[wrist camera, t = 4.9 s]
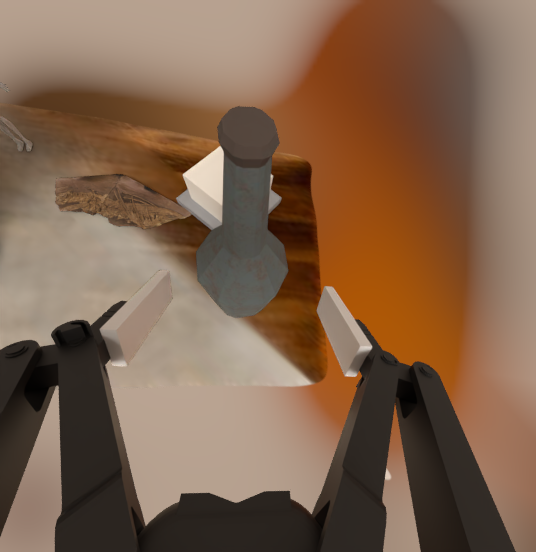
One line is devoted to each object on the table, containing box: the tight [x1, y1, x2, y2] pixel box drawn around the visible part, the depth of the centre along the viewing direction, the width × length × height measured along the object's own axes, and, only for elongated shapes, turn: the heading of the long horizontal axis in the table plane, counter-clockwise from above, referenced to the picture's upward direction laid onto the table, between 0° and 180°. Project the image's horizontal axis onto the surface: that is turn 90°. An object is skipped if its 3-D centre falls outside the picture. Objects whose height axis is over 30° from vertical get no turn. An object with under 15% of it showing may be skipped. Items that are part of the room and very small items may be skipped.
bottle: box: [196, 106, 288, 318], centre depth 21 cm, size 10×10×30 cm
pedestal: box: [176, 146, 281, 230], centre depth 37 cm, size 15×15×8 cm
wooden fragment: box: [55, 174, 191, 229], centre depth 37 cm, size 26×11×1 cm, turn 77°
